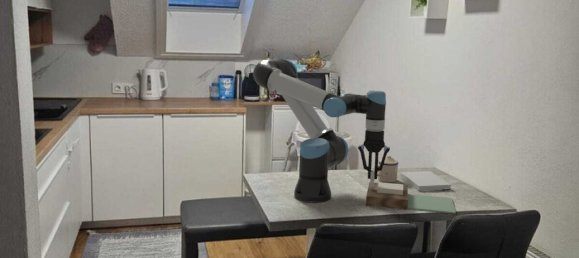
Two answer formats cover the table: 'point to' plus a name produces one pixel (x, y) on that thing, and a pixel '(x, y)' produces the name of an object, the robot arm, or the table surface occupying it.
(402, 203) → the walnut board
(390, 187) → the ceramic tile
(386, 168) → the teacup with lid
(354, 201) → the table surface
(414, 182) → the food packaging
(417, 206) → the rubber mat
